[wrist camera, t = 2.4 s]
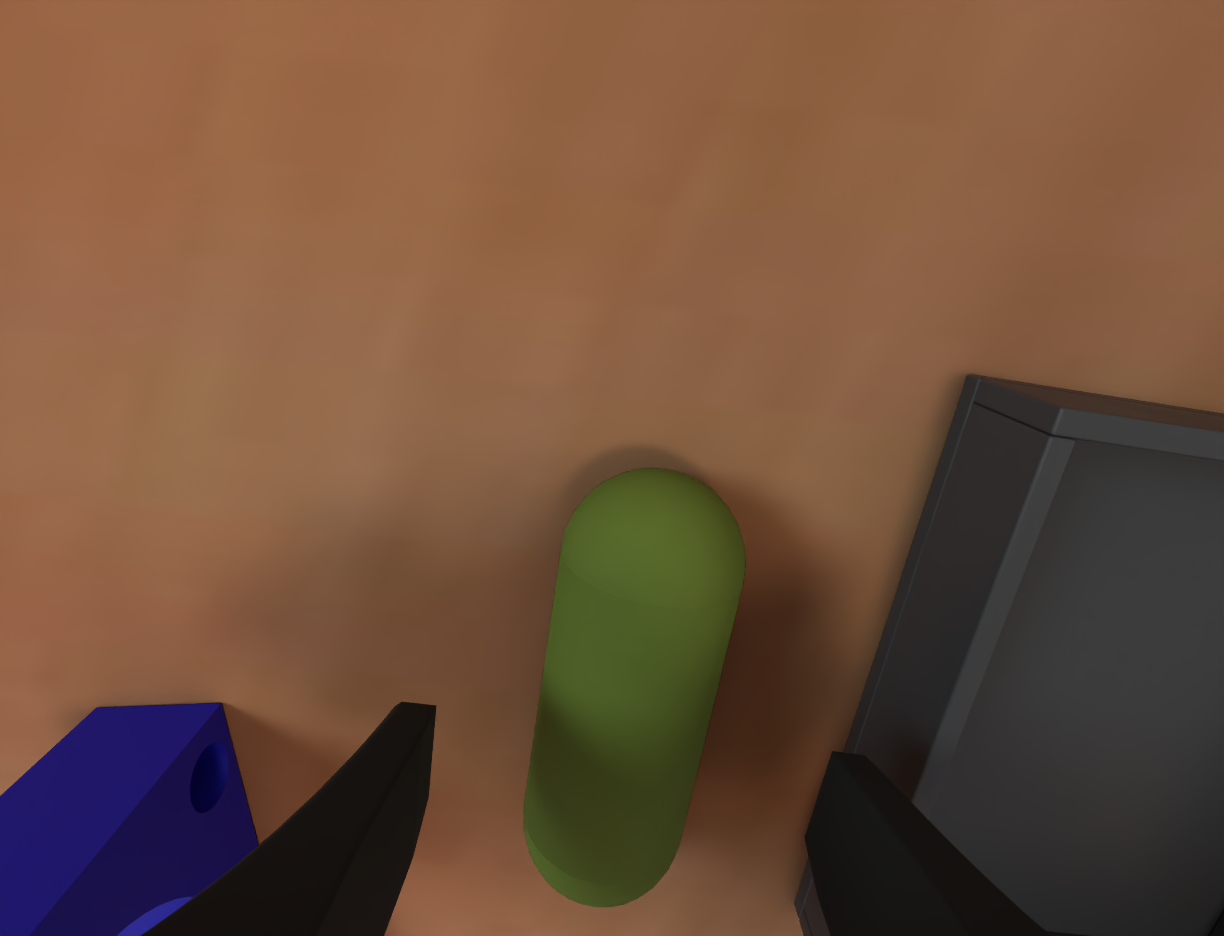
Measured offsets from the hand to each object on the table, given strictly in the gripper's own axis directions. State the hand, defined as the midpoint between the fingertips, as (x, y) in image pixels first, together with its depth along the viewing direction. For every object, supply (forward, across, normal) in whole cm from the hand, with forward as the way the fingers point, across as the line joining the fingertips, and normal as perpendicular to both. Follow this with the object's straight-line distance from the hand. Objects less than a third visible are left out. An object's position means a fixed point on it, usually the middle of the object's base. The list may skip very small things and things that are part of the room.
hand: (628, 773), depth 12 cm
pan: (+4, -12, 0) cm, 13 cm away
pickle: (+4, 0, 0) cm, 4 cm away
